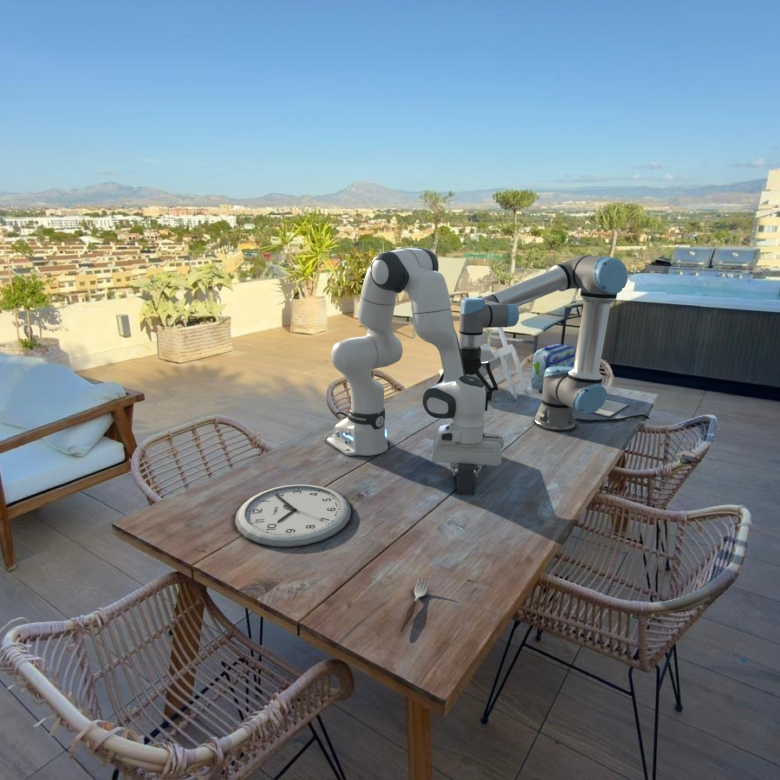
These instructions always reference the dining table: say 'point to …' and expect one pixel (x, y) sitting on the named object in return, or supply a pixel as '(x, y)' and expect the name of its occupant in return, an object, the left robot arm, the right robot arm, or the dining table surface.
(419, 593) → the fork
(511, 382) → the white plastic object
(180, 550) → the dining table surface
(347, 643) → the dining table surface
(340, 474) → the dining table surface
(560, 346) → the lunch box
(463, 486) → the beam
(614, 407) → the invitation card
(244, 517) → the wall clock
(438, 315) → the left robot arm
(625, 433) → the dining table surface
